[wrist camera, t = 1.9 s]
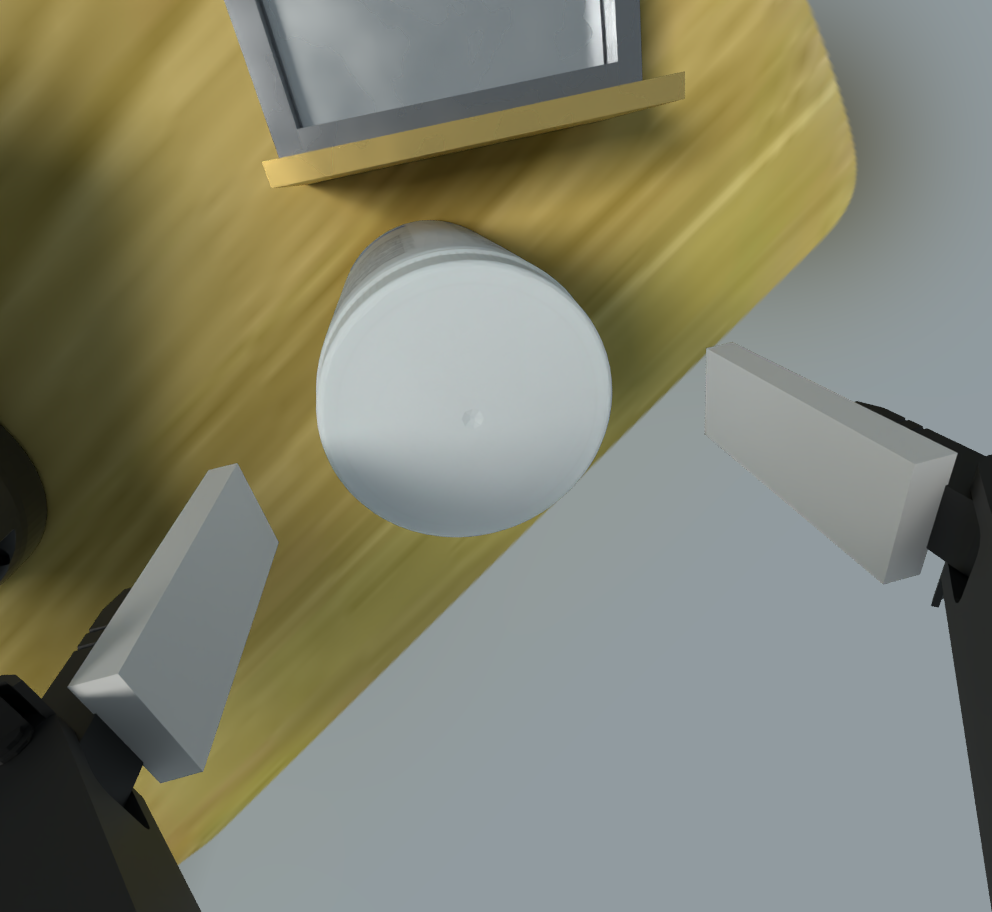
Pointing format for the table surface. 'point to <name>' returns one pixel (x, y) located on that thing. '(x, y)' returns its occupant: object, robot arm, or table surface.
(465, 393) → the supplement tub
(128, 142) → the table surface
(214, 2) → the table surface
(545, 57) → the gray square tray
